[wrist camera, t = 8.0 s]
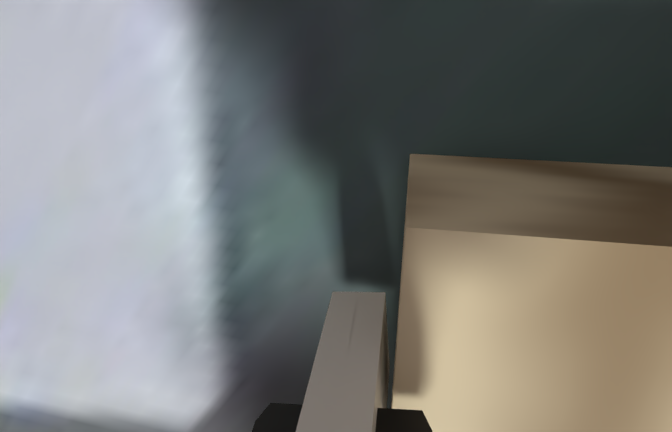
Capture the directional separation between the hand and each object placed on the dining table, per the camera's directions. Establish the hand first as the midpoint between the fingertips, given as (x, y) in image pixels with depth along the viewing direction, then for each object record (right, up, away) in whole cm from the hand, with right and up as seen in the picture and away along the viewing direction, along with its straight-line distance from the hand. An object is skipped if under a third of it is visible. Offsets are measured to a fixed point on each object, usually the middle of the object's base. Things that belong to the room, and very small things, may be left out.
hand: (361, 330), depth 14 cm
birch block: (+6, -1, +2) cm, 6 cm away
